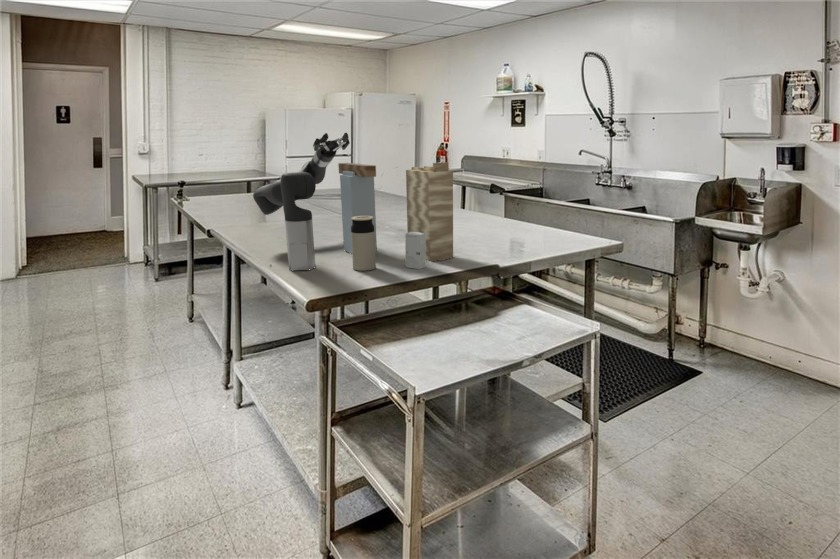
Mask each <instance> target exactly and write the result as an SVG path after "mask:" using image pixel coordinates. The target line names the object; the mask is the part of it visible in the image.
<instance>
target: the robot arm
mask: <svg viewBox="0 0 840 559" xmlns="http://www.w3.org/2000/svg"><path fill="white" fill-rule="evenodd" d="M328 139H329V134H328V133H327V132H325V133H324V134H323V135H322V137H320V138H315V140H314V142H313V144H312V147H313V150H314V155H313V157H312V158H311V160H308V161H306V162H305V163H304V164H303V165H302V167H301V168H300V170H299V171H297V172H296V171H295V172H284V173H283V174H281V177H280V179H277V180H276V181H273V182H272V183H268V184H265V185H261V186H260V187H259V188H257V189H256V190H254V192H253V195H252V197H253V200H254V202H255V203H256V205H257V207H258V208H259V209H260V211H261V212H262V213H263V215H265V216H269V215H271V214H274V213H275V212H277V211H279V210H280V209H281V208H283V214H284V224H285V235H286V236H285V237H286V248H287V258H288V259H287V260H288V269H289V268H290V269H291V270H309V269H311V270H313V269H312V268H314V267H315V268H316V267H317V266H316V254H315V252H316V251H315V241H314V240H315V238H314V226H313V213H312V211H311V210H309V209H306V208H302V207H300V206H298V205H297V204H296V201H299V200H301V201H302V200H309V199H310V198H312V197H313V196H314V194H315V192H316V187H317V185H319V184H321V183H322V182H323V180H324V178H325V176H326V170H327V167H328V166H329V164H331V162H332V161H333V159H334V157H335V156H336V155H337V152H338V150H339V149H342V151H344V150H346V149H347V147H348V146H349V145H350V140H349V134H348V132H344V134H343V136H342V137H340V138H339V137H338V138H336V139H333V140H328ZM315 268H314V269H315ZM290 269H289V270H290ZM291 270H290V271H291ZM309 271H310V270H309Z"/></svg>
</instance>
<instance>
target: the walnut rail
mask: <svg viewBox="0 0 840 559" xmlns="http://www.w3.org/2000/svg"><path fill="white" fill-rule="evenodd" d="M337 165H338V166H337V167H338V174H340V175H343V171H349V172H355V176H361V177H374V178H376V177H377V165H376V164H375V165H373V164H362V163H353V162H338V164H337Z"/></svg>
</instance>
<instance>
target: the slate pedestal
mask: <svg viewBox="0 0 840 559" xmlns="http://www.w3.org/2000/svg"><path fill="white" fill-rule="evenodd" d="M339 182H340V201H341V217H342V218H341V220H342V221H341V222H342V237H343V238H342V240H343V251H344V250H345V251H347V252H349V253H351V254H350V255H352V240H351V226H352V224H353V222H352V219H351V218H352V217H355V216H372V217H373V219H372V223H373V225H374V234H375V253H378V250H377V248H378V246H377V242H378V241H377V224H376V222H377V220H376V199H375V198H376V194H375V177H361V176H355V172H349V171H343V174H340V175H339ZM345 251H344V252H345ZM347 252H346V253H347ZM349 253H348V254H349Z"/></svg>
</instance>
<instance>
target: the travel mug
mask: <svg viewBox="0 0 840 559" xmlns="http://www.w3.org/2000/svg"><path fill="white" fill-rule="evenodd" d="M351 219H352V222H353V224H352V226H351V240H352V254H351V255H352V256H351V257H352V260H351V261H352V269H353V270H354V271H358V272H359V271H360V272H368V271H373V270H374V269H376V267H377V265H376V264H377V263H376V261H377V260H376V252H375V234H374V225H373V223H372V219H373V217H372V216H355V217H352V218H351Z"/></svg>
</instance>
